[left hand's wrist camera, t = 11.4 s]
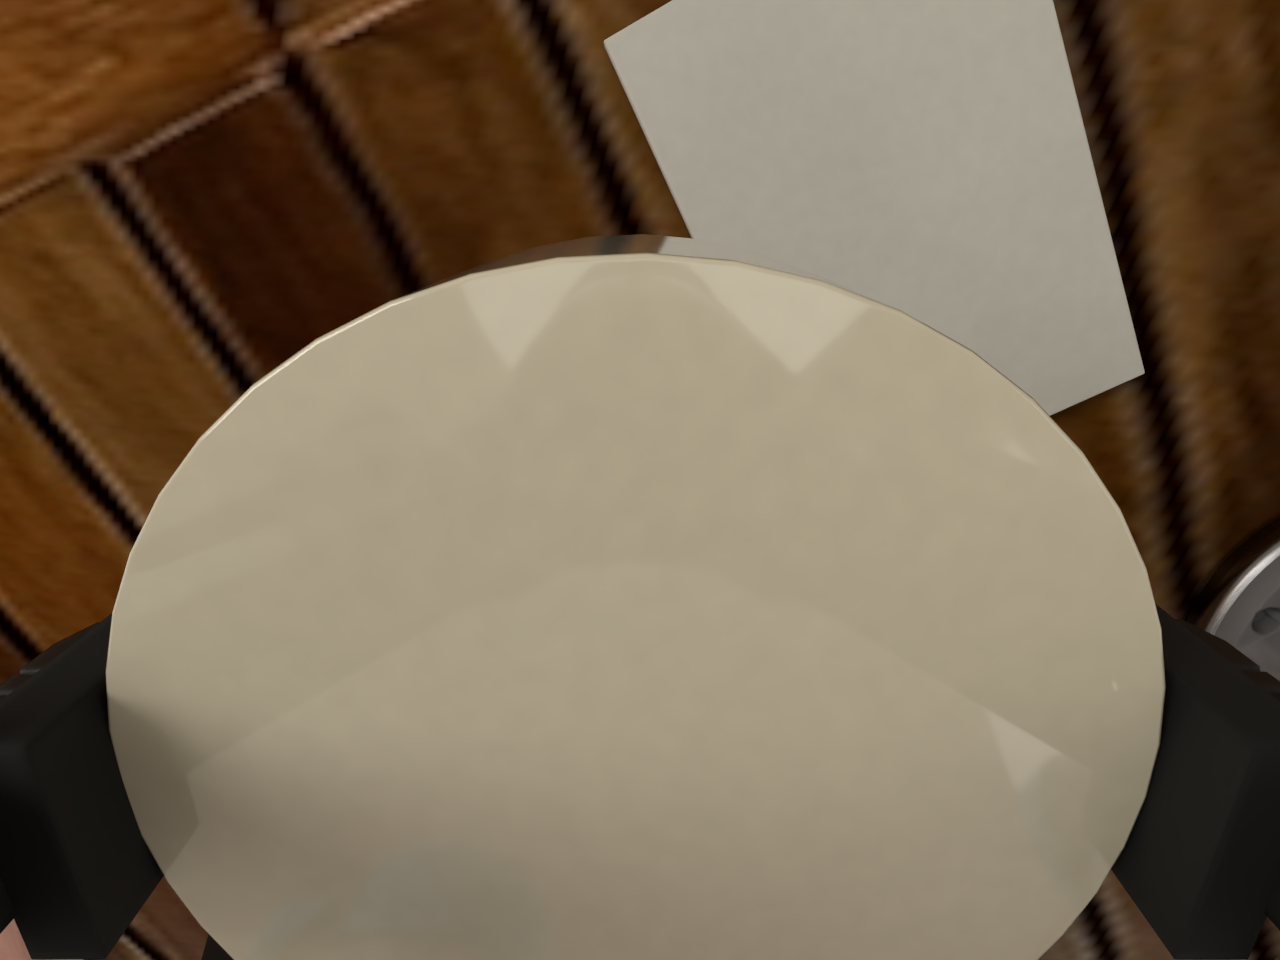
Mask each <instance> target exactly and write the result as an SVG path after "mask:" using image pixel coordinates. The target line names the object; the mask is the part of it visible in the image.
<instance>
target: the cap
mask: <svg viewBox="0 0 1280 960" xmlns="http://www.w3.org/2000/svg"><path fill="white" fill-rule="evenodd" d="M106 687H107V705H108V723H109V732H110V737H111V741H112V745H113V749H114V752H115V756H116V759H117V763H118V766H119V770H120V773H121V776H122V780H123V783H124V786H125V789H126V792H127V795H128V798H129V801H130V804H131V807H132V809H133V812H134V815H135V818H136V821H137V824H138V827H139V829H140V832H141V835H142V837H143V840H144V841H145V843H146V845H147V847H148V848H149V850H150V852H151V854H152V856H153V857H154V859H155V861H156V863H157V864H158V866H159V868H160V870H161V871H162V873H163V875H164V877H165V879H166V880H167V882H168V883H169V885H170V886H171V887H172V889H173V890H174V891H175V893H176V894H177V895H178V897H179V898H180V899H181V901H182V902H183V903H184V905H185V906H186V907H187V909H188V910H189V911H190V912H191V914H192V915H193V916H194V918H195V919H196V920H197V922H198V923H199V924H200V926H201V927H202V928H203V929H204V930H205V931H206V932H207V933H208V934H209V935H210V936H211V937H212V938H213V939H214V940H215V941H216V942H217V943H218V944H219V945H220V946H221V947H222V948H223V949H224V950H225V951H226V952H227V953H228V954H229V956H230V957H231V958H232V959H233V960H1038V959H1039V958H1040V957H1041V956H1042V955H1043V954H1044V953H1045V952H1046V951H1047V950H1048V949H1049V948H1050V947H1051V946H1052V945H1053V944H1054V943H1055V942H1056V941H1057V940H1058V939H1059V938H1060V937H1062V936H1063V934H1064V933H1065V932H1066V931H1067V930H1068V928H1069V927H1070V926H1071V925H1072V923H1073V922H1074V921H1075V920H1076V918H1077V917H1078V916H1079V915H1080V913H1081V912H1082V911H1083V910H1084V908H1085V907H1086V906H1087V905H1088V903H1089V902H1090V901H1091V900H1092V898H1093V897H1094V896H1095V895H1096V893H1097V892H1098V890H1099V889H1100V887H1101V885H1102V884H1103V882H1104V880H1105V879H1106V877H1107V875H1108V874H1109V872H1110V870H1111V869H1112V867H1113V866H1114V864H1115V862H1116V861H1117V859H1118V857H1119V856H1120V854H1121V852H1122V851H1123V849H1124V847H1125V845H1126V843H1127V841H1128V838H1129V836H1130V834H1131V831H1132V829H1133V827H1134V824H1135V822H1136V820H1137V817H1138V815H1139V813H1140V810H1141V808H1142V806H1143V803H1144V801H1145V799H1146V796H1147V792H1148V788H1149V784H1150V781H1151V777H1152V773H1153V769H1154V765H1155V762H1156V758H1157V754H1158V750H1159V746H1160V740H1161V730H1162V719H1163V709H1164V699H1165V688H1166V686H1165V672H1164V658H1163V644H1162V630H1161V625H1160V621H1159V617H1158V613H1157V609H1156V605H1155V601H1154V597H1153V593H1152V589H1151V585H1150V581H1149V577H1148V573H1147V569H1146V566H1145V564H1144V562H1143V559H1142V557H1141V555H1140V553H1139V550H1138V548H1137V546H1136V544H1135V541H1134V539H1133V537H1132V534H1131V532H1130V530H1129V528H1128V525H1127V523H1126V521H1125V519H1124V516H1123V514H1122V512H1121V510H1120V507H1119V506H1118V504H1117V503H1116V501H1115V500H1114V498H1113V497H1112V495H1111V494H1110V492H1109V491H1108V489H1107V488H1106V486H1105V485H1104V483H1103V482H1102V480H1101V479H1100V477H1099V476H1098V474H1097V473H1096V471H1095V470H1094V468H1093V467H1092V465H1091V464H1090V462H1089V461H1088V459H1087V458H1086V456H1085V455H1084V453H1083V452H1082V450H1081V449H1080V448H1079V447H1078V446H1077V445H1076V444H1075V443H1074V442H1073V441H1072V439H1071V438H1070V437H1069V436H1068V435H1067V434H1066V433H1065V432H1064V431H1063V430H1062V429H1061V428H1060V427H1059V426H1058V424H1057V423H1056V422H1055V421H1054V420H1053V419H1052V418H1051V417H1050V416H1049V415H1048V414H1047V413H1046V412H1045V410H1044V409H1043V408H1042V407H1041V406H1040V405H1039V404H1038V403H1037V402H1036V401H1035V400H1034V399H1033V398H1032V397H1031V396H1030V395H1029V394H1027V393H1026V392H1025V391H1023V390H1022V389H1021V388H1020V387H1018V386H1017V385H1016V384H1014V383H1013V382H1012V381H1011V380H1009V379H1008V378H1007V377H1006V376H1004V375H1003V374H1002V373H1000V372H999V371H998V370H997V369H995V368H994V367H993V366H991V365H990V364H989V363H988V362H986V361H985V360H984V359H982V358H981V357H980V356H979V355H977V354H976V353H975V352H974V351H972V350H971V349H969V348H967V347H965V346H964V345H962V344H960V343H958V342H956V341H955V340H953V339H951V338H949V337H947V336H946V335H944V334H942V333H940V332H939V331H937V330H935V329H933V328H931V327H930V326H928V325H926V324H924V323H923V322H921V321H919V320H917V319H915V318H914V317H912V316H910V315H908V314H907V313H905V312H903V311H901V310H899V309H896V308H894V307H892V306H889V305H887V304H885V303H882V302H880V301H877V300H875V299H873V298H870V297H868V296H865V295H863V294H861V293H858V292H856V291H853V290H851V289H849V288H846V287H844V286H842V285H839V284H837V283H834V282H832V281H830V280H827V279H825V278H822V277H820V276H818V275H815V274H813V273H810V272H808V271H805V270H803V269H800V268H797V267H795V266H792V265H790V264H787V263H784V262H782V261H779V260H777V259H774V258H771V257H769V256H766V255H764V254H761V253H758V252H754V251H750V250H746V249H741V248H737V247H733V246H728V245H724V244H720V243H715V242H711V241H706V240H702V239H691V238H680V237H668V236H657V235H645V234H642V235H622V236H603V237H585V238H580V239H575V240H570V241H564V242H559V243H554V244H549V245H544V246H538V247H533V248H529V249H526V250H523V251H520V252H517V253H514V254H511V255H508V256H505V257H502V258H499V259H497V260H494V261H491V262H488V263H485V264H482V265H479V266H476V267H474V268H471V269H469V270H466V271H464V272H461V273H459V274H456V275H454V276H451V277H449V278H446V279H444V280H441V281H439V282H436V283H434V284H431V285H429V286H426V287H424V288H421V289H419V290H416V291H414V292H411V293H409V294H406V295H404V296H401V297H399V298H396V299H394V300H392V301H389V302H387V303H385V304H383V305H381V306H379V307H377V308H375V309H373V310H372V311H370V312H368V313H366V314H364V315H362V316H360V317H358V318H356V319H354V320H352V321H350V322H348V323H346V324H344V325H342V326H340V327H338V328H336V329H334V330H332V331H331V332H329V333H327V334H325V335H323V336H321V337H319V338H317V339H315V340H314V341H312V342H311V343H310V344H308V345H307V346H306V347H304V348H303V349H301V350H300V351H299V352H297V353H296V354H294V355H293V356H292V357H290V358H289V359H287V360H286V361H285V362H283V363H282V364H281V365H279V366H278V367H276V368H275V369H274V370H272V371H271V372H269V373H268V374H267V375H265V376H264V377H262V378H261V379H260V380H258V381H257V382H255V383H254V384H253V385H252V386H251V387H250V388H249V389H248V390H247V391H246V392H245V393H244V394H243V395H242V396H241V397H240V398H239V399H238V400H237V401H236V402H235V403H234V404H233V405H232V406H231V407H229V408H228V409H227V410H226V411H225V412H224V413H223V414H222V415H221V416H220V417H219V418H218V419H217V420H216V421H215V422H214V423H213V424H212V425H211V426H210V427H209V428H208V429H207V430H206V431H205V432H204V433H203V434H202V435H201V436H200V438H199V439H198V440H197V442H196V443H195V444H194V446H193V447H192V449H191V450H190V451H189V453H188V454H187V456H186V457H185V458H184V460H183V461H182V462H181V464H180V465H179V467H178V468H177V469H176V471H175V472H174V473H173V475H172V476H171V478H170V479H169V480H168V482H167V483H166V485H165V486H164V487H163V489H162V490H161V491H160V493H159V495H158V497H157V499H156V501H155V503H154V505H153V507H152V509H151V511H150V513H149V515H148V517H147V519H146V521H145V523H144V525H143V527H142V529H141V532H140V534H139V536H138V538H137V540H136V542H135V544H134V546H133V548H132V550H131V552H130V555H129V558H128V562H127V565H126V568H125V572H124V575H123V579H122V582H121V586H120V589H119V592H118V596H117V599H116V603H115V606H114V609H113V613H112V621H111V630H110V638H109V647H108V656H107V665H106Z"/></svg>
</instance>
